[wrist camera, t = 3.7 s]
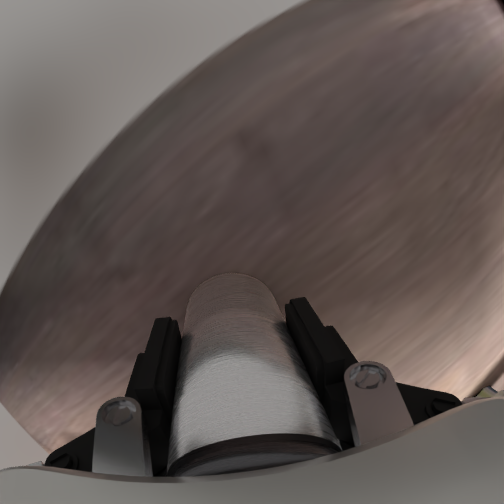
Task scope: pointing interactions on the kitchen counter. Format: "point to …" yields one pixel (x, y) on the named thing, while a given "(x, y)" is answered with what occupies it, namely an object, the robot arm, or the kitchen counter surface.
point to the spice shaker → (242, 386)
